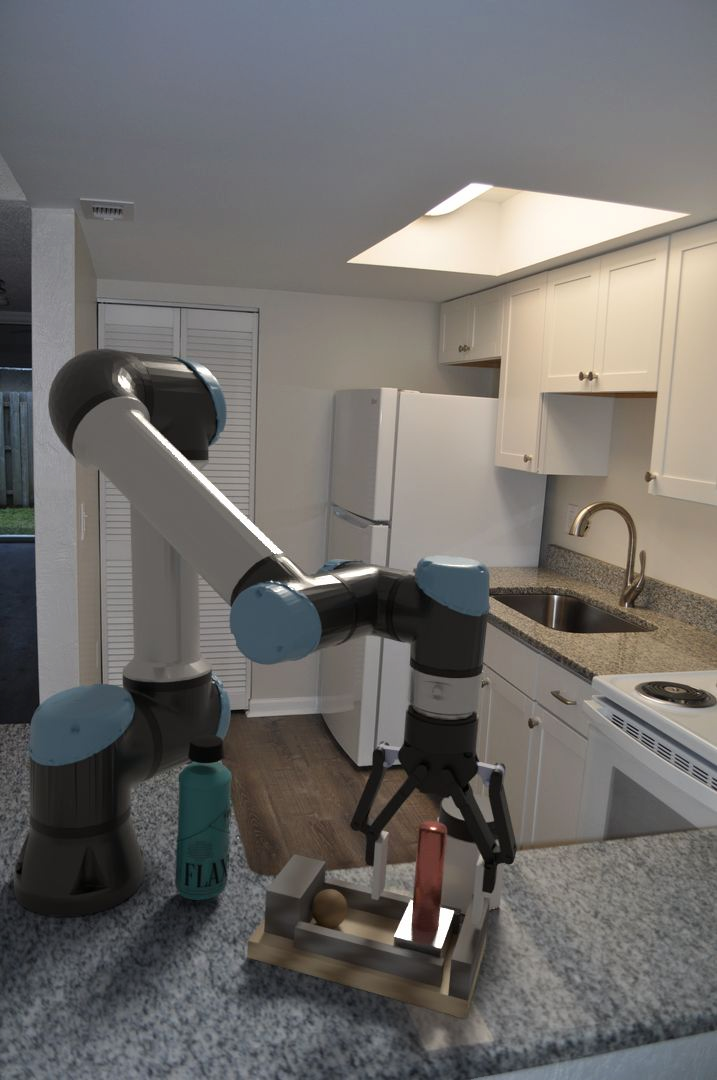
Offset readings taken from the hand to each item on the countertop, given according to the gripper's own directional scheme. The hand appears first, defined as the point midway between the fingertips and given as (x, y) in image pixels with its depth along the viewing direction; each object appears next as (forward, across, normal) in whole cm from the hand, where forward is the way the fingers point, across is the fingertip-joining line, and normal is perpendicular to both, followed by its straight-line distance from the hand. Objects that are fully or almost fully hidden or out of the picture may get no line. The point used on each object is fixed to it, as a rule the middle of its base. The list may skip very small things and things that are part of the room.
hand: (426, 904), depth 87 cm
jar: (+7, +2, +15) cm, 17 cm away
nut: (+5, -10, 0) cm, 12 cm away
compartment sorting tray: (+7, -6, 0) cm, 9 cm away
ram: (+5, 0, 0) cm, 5 cm away
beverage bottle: (+7, -28, +2) cm, 29 cm away
